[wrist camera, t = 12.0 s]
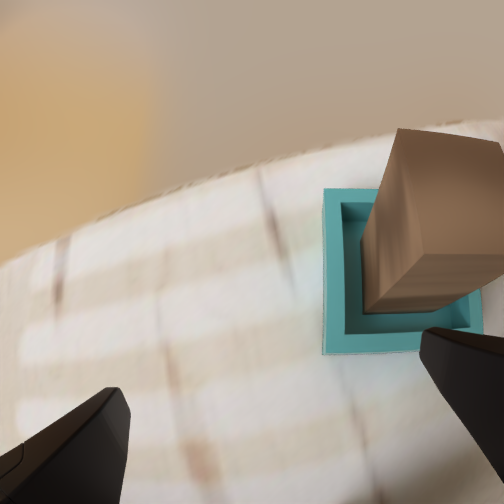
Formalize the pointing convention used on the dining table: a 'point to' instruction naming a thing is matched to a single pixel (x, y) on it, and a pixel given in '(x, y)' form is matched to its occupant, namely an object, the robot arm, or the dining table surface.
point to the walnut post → (433, 224)
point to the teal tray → (350, 289)
